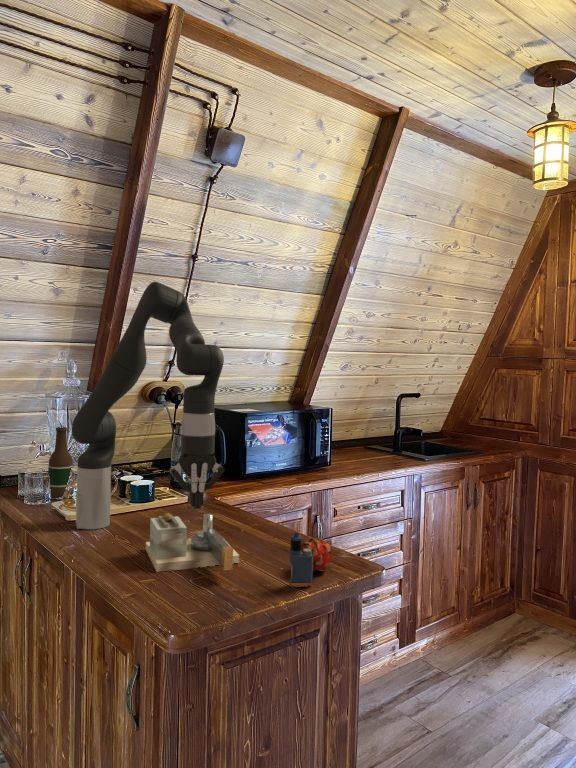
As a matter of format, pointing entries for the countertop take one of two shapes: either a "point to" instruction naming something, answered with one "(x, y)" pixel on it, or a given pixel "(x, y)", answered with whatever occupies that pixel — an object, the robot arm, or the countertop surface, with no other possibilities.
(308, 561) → the vaping device
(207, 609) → the countertop surface
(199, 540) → the cam capstan
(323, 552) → the dragon fruit
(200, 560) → the stand
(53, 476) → the beer bottle
